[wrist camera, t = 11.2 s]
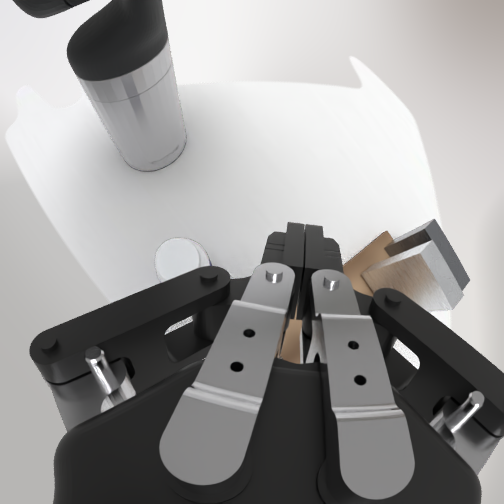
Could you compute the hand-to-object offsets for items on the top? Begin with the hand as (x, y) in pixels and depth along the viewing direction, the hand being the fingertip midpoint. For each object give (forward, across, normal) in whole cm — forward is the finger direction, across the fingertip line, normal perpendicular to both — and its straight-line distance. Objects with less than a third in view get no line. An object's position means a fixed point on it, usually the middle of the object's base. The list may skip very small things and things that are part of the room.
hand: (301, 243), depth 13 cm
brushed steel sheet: (+16, -12, +15) cm, 25 cm away
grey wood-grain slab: (+20, -15, +12) cm, 28 cm away
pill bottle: (+15, +11, +13) cm, 23 cm away
